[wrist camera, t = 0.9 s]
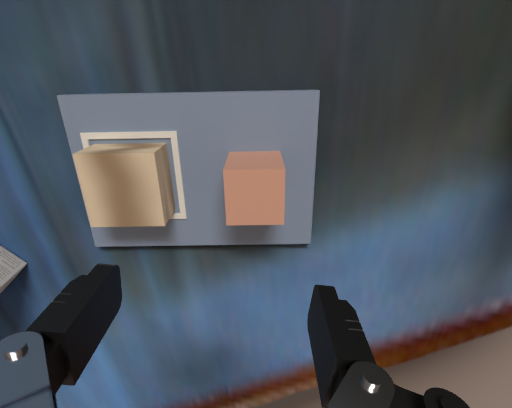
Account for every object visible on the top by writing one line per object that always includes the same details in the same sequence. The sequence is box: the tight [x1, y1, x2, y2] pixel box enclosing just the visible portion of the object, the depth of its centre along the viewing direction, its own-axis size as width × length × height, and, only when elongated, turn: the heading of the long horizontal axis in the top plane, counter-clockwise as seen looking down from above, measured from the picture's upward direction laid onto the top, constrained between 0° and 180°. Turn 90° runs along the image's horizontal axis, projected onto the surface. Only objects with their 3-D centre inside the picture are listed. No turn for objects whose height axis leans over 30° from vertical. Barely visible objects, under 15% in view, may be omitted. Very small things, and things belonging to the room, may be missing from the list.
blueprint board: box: [57, 90, 320, 247], centre depth 32 cm, size 24×16×1 cm, turn 91°
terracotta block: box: [223, 151, 285, 226], centre depth 29 cm, size 5×5×6 cm
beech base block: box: [72, 143, 175, 227], centre depth 30 cm, size 7×7×4 cm
